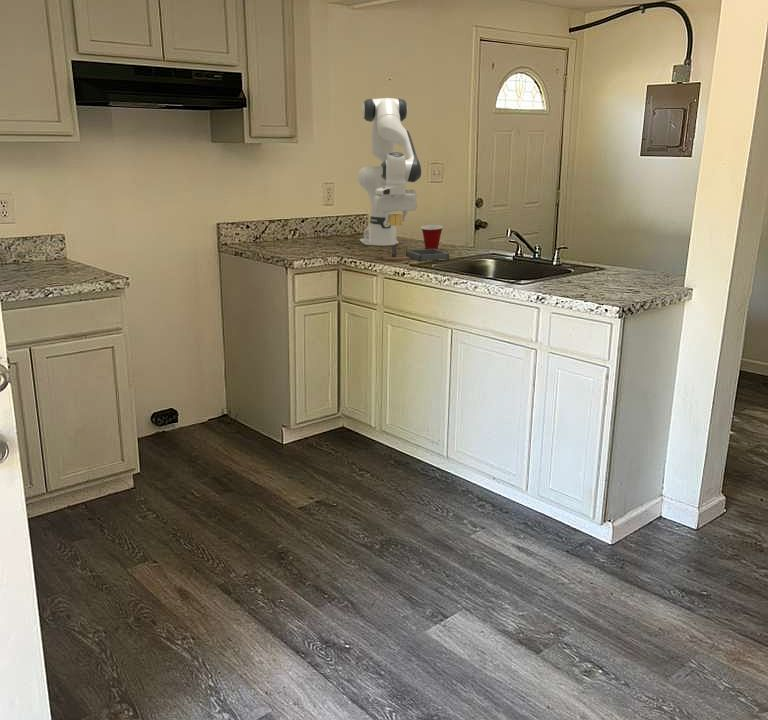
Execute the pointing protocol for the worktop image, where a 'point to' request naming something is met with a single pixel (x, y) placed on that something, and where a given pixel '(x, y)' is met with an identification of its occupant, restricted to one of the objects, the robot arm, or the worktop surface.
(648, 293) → the worktop surface
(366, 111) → the robot arm
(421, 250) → the tray
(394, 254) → the wooden peg stand
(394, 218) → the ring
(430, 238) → the plastic cup
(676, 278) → the worktop surface
